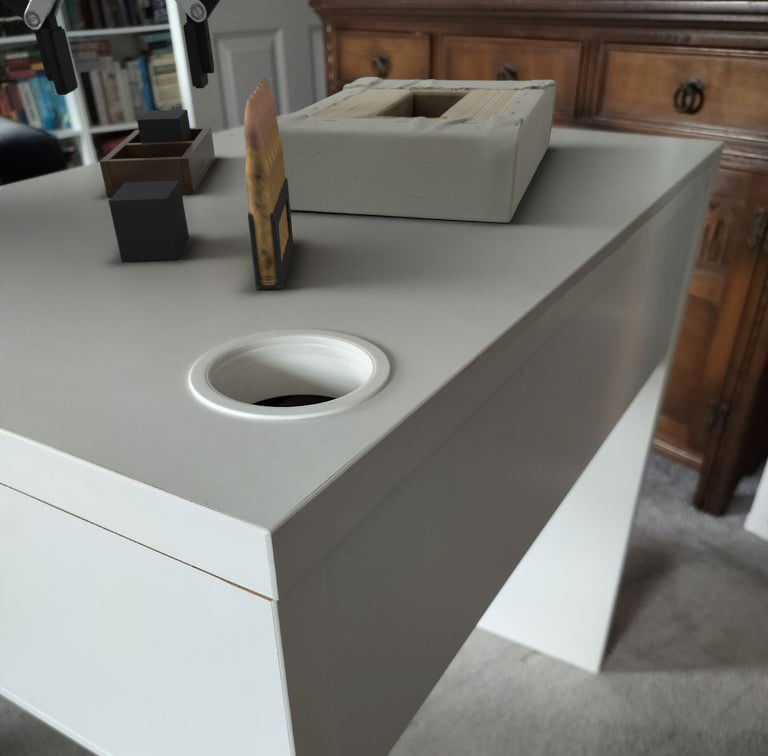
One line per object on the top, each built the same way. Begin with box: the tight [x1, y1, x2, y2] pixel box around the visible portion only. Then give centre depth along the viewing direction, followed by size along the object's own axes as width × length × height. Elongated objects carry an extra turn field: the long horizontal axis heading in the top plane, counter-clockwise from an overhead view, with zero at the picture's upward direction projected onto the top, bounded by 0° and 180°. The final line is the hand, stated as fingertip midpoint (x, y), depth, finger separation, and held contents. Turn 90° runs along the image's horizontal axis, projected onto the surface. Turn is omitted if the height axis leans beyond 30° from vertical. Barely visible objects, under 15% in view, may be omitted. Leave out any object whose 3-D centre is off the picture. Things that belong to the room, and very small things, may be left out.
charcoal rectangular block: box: [136, 109, 192, 143], centre depth 86 cm, size 4×6×5 cm
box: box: [276, 76, 558, 223], centre depth 79 cm, size 23×8×32 cm
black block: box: [108, 181, 190, 263], centre depth 62 cm, size 4×6×5 cm
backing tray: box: [99, 126, 216, 198], centre depth 83 cm, size 9×16×3 cm, turn 3°
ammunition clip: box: [243, 78, 294, 291], centre depth 56 cm, size 11×2×12 cm, turn 1°
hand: (134, 89), depth 57 cm, fingers open, 9 cm apart
